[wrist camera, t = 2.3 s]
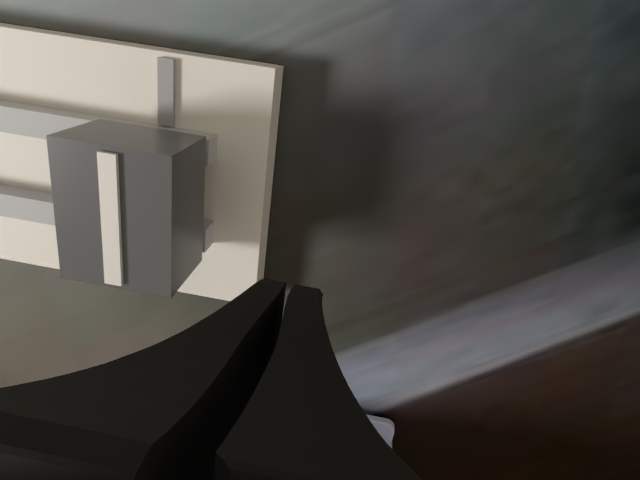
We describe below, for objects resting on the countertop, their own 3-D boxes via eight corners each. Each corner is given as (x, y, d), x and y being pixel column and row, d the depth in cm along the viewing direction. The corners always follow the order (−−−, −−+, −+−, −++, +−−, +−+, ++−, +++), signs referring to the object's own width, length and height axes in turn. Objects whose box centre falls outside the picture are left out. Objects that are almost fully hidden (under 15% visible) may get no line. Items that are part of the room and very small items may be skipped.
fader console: (283, 65, 19) (268, 70, 16) (262, 289, 23) (248, 318, 21) (-234, -13, 20) (-313, -19, 18) (-166, 210, 24) (-224, 228, 22)
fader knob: (215, 130, 18) (169, 157, 14) (210, 250, 20) (169, 300, 17) (113, 114, 19) (42, 136, 15) (119, 233, 21) (58, 279, 17)
